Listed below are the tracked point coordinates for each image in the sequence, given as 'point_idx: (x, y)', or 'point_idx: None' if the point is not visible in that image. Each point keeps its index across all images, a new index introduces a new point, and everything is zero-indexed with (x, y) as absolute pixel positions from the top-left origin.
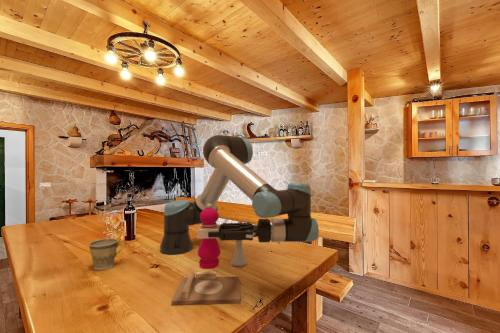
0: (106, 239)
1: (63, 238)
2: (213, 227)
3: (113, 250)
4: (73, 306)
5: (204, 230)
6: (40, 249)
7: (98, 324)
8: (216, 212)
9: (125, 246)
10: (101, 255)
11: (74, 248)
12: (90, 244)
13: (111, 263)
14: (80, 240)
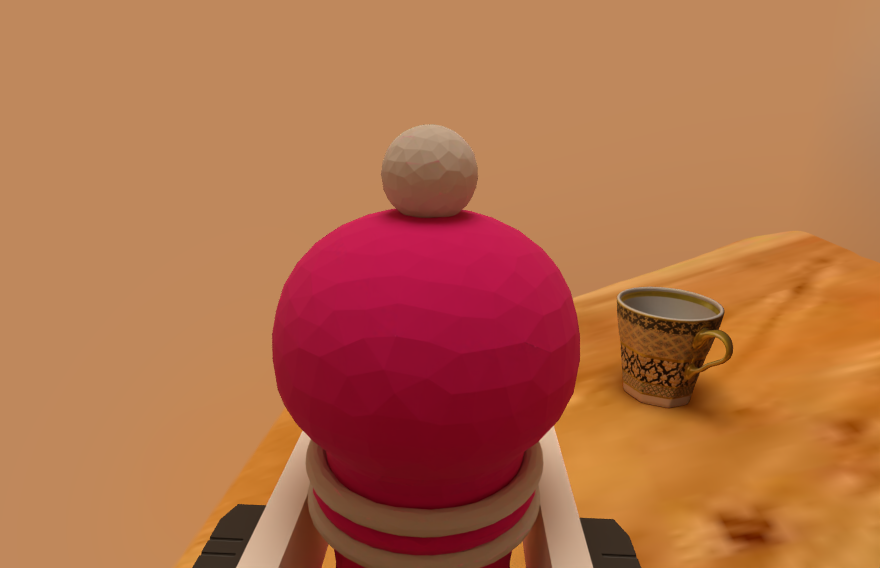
0: (708, 301)
1: (816, 280)
2: (326, 516)
3: (666, 347)
4: None
5: (293, 457)
6: (713, 279)
7: (250, 485)
8: (353, 311)
9: (724, 360)
10: (626, 342)
11: (761, 311)
12: (641, 292)
13: (660, 393)
14: (832, 302)
